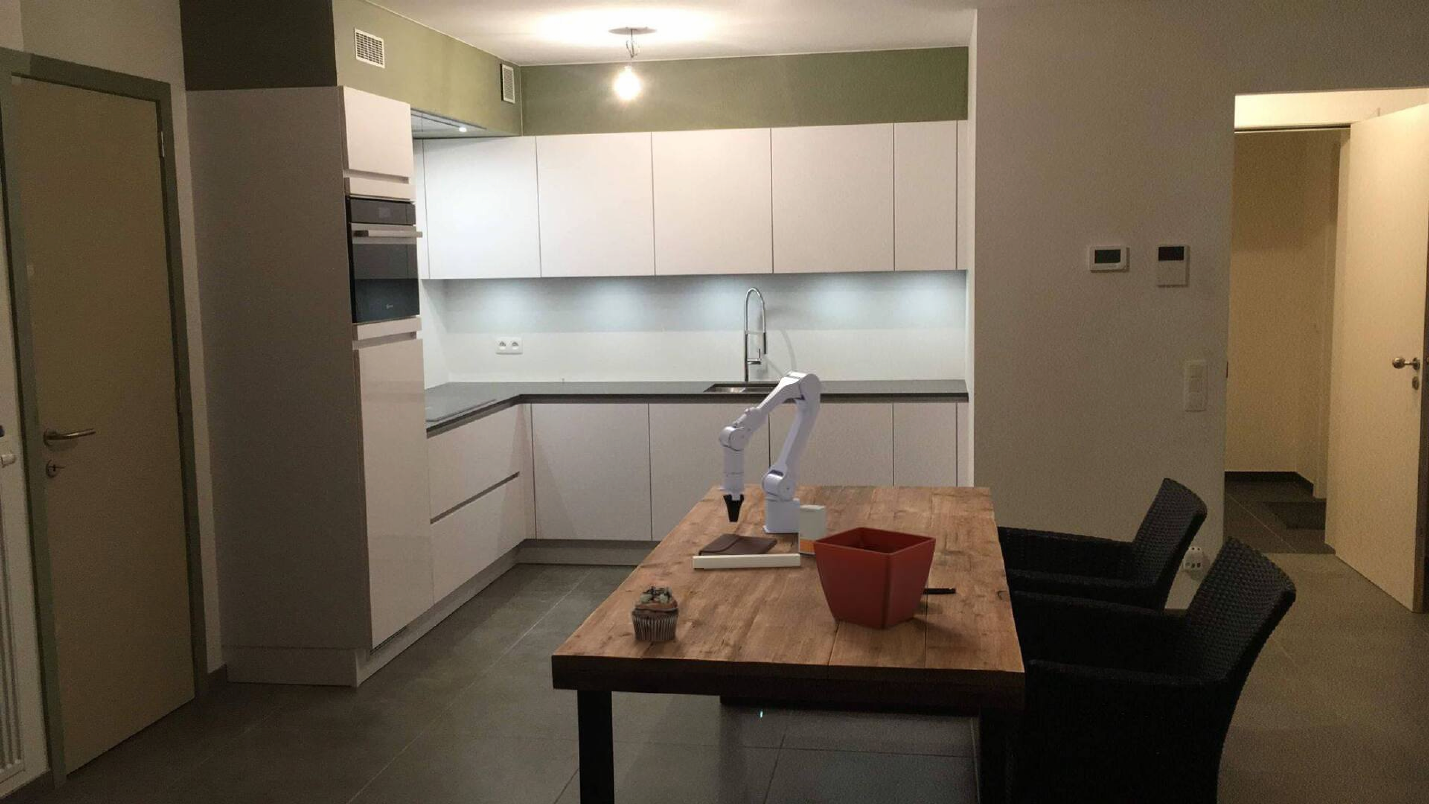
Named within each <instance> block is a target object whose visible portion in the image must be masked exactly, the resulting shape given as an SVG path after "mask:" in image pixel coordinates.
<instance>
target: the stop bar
mask: <svg viewBox="0 0 1429 804" xmlns="http://www.w3.org/2000/svg"><path fill="white" fill-rule="evenodd" d="M800 554H801V553H773V554H772V553H771V554H769V553H768V554H767V553H766V554H765V553H764V554H762V555H723V556H701V555H700V556H699V555H693V556H692V569H694V568H704V569H733V568H734V569H736V568H742V569H743V568H772V567H773V568H775V567H776V568H777V567H778V568H780V567H800V566H801V555H800Z"/></svg>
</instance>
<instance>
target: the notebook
mask: <svg viewBox="0 0 1429 804" xmlns="http://www.w3.org/2000/svg"><path fill="white" fill-rule="evenodd" d="M777 543H778V539H777V538H775V537H766V536H765V537H761V536H751V535H750V536H749V535H740V534H734V533H722V534H721V535H720V536H719V537H717V538H716V539H714V540H713V541H712V542H709V544H707V545H706V546H704V547H702V548H701V549H700V550H699V551H698V556H723V555H764V554H765V553H766V552H767V551H769V549H770V550H771V548H772V547H774V546H775V545H776V544H777ZM763 553H764V554H763Z"/></svg>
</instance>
